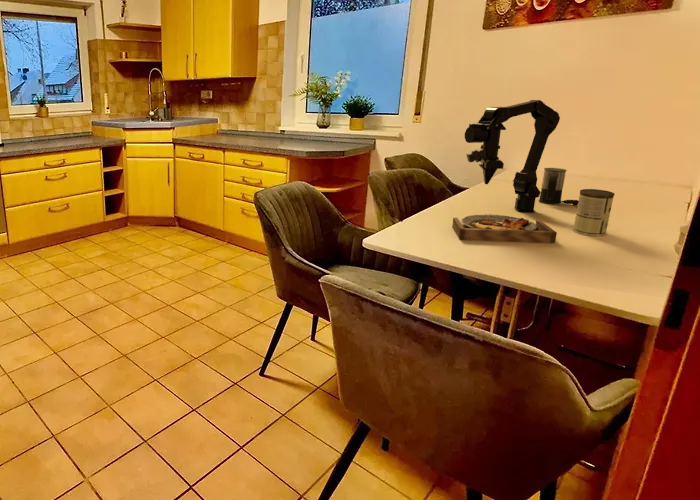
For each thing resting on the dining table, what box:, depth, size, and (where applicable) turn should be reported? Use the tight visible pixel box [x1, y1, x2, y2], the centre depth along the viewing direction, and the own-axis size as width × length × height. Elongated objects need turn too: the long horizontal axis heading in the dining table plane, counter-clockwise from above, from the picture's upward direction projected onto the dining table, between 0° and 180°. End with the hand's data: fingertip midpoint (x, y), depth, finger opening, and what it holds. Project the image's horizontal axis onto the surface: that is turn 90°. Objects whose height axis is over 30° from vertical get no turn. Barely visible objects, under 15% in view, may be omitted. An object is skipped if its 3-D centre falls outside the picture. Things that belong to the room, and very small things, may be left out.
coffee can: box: [572, 188, 615, 237], centre depth 152 cm, size 10×10×14 cm
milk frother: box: [538, 167, 579, 207], centre depth 193 cm, size 14×16×15 cm
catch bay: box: [451, 217, 558, 244], centre depth 148 cm, size 30×14×4 cm, turn 87°
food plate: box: [460, 214, 537, 231], centre depth 156 cm, size 25×23×4 cm
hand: (486, 184), depth 171 cm, fingers closed
